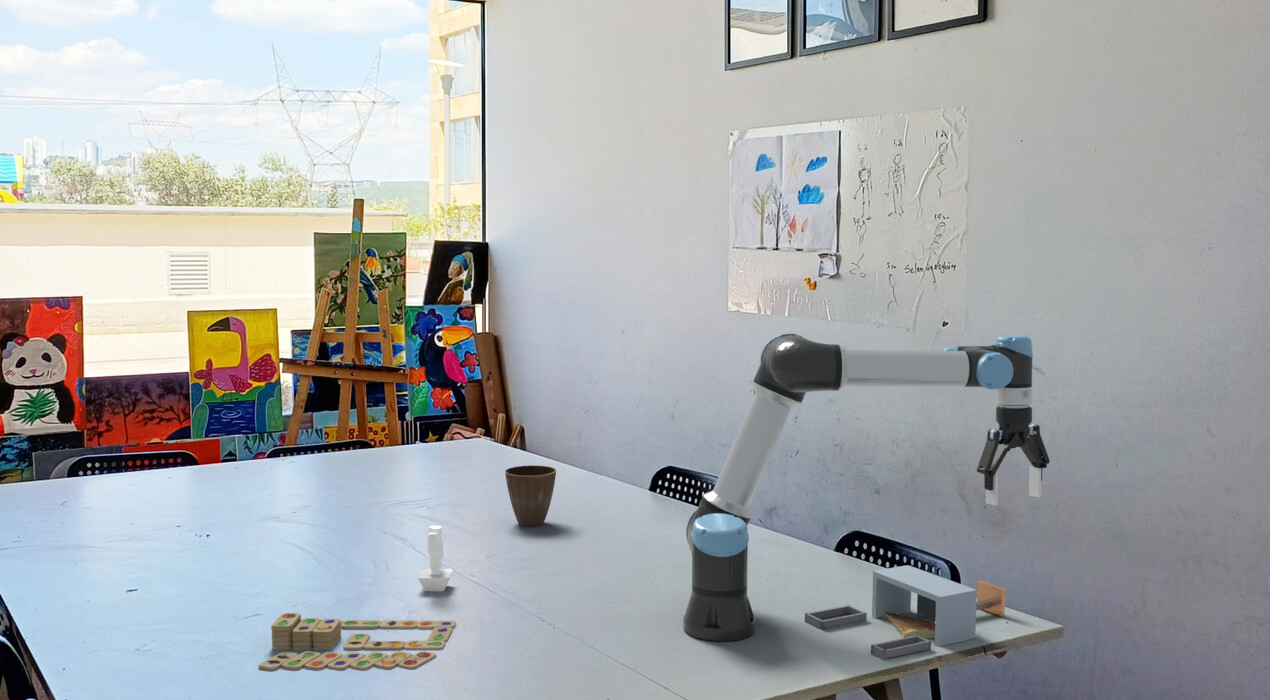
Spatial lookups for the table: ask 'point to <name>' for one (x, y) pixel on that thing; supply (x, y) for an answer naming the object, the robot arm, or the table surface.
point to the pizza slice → (912, 626)
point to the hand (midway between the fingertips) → (1013, 500)
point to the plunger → (987, 600)
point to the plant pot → (530, 493)
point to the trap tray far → (835, 617)
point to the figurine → (435, 563)
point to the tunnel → (950, 598)
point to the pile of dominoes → (350, 643)
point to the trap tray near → (900, 647)
